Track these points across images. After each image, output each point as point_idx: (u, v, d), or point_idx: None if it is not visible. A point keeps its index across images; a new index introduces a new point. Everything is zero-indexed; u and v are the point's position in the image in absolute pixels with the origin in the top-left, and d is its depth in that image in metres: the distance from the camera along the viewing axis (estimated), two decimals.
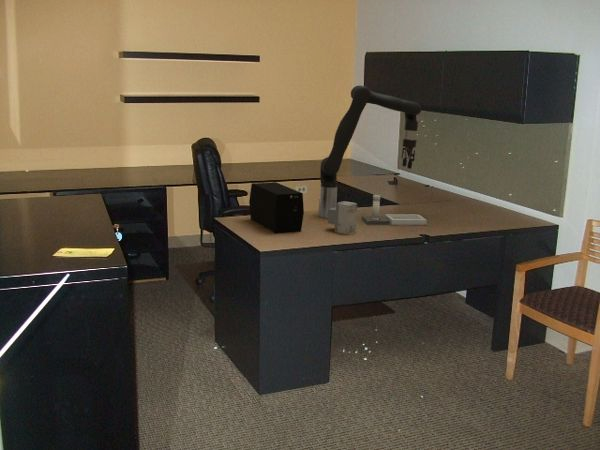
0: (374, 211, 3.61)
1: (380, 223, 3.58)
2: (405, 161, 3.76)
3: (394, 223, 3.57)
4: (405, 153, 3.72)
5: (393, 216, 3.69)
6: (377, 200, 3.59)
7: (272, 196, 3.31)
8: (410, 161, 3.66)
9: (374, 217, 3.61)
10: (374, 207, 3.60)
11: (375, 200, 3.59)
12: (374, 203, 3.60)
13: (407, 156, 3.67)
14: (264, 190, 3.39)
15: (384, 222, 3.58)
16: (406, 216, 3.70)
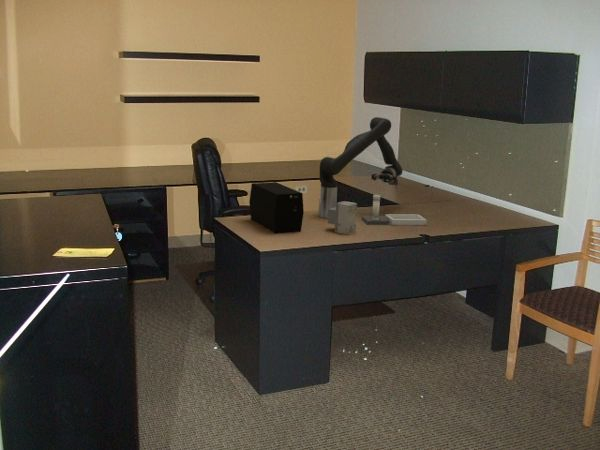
0: (374, 211, 3.61)
1: (380, 223, 3.58)
2: (376, 178, 3.72)
3: (394, 223, 3.57)
4: None
5: (393, 216, 3.69)
6: (377, 200, 3.59)
7: (271, 196, 3.31)
8: (393, 178, 3.70)
9: (374, 217, 3.61)
10: (374, 207, 3.60)
11: (375, 200, 3.59)
12: (374, 203, 3.60)
13: (391, 175, 3.73)
14: (264, 190, 3.39)
15: (384, 222, 3.58)
16: (406, 216, 3.70)
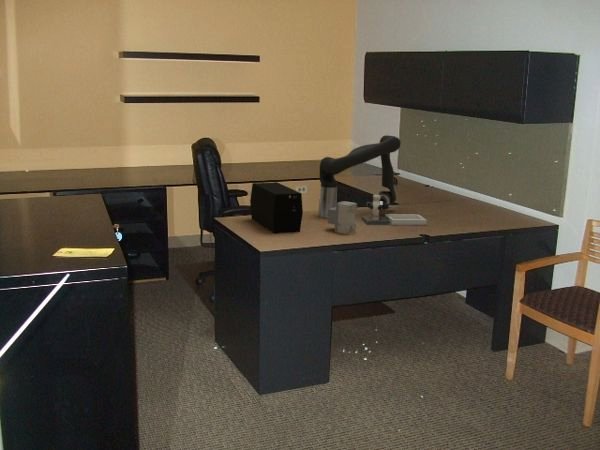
0: (374, 211, 3.61)
1: (380, 223, 3.58)
2: (372, 207, 3.62)
3: (394, 223, 3.57)
4: None
5: (393, 216, 3.69)
6: (377, 200, 3.59)
7: (270, 196, 3.31)
8: (382, 206, 3.62)
9: (374, 217, 3.61)
10: (374, 207, 3.60)
11: (375, 200, 3.59)
12: (374, 203, 3.60)
13: (382, 203, 3.64)
14: (264, 190, 3.39)
15: (384, 222, 3.58)
16: (406, 216, 3.70)
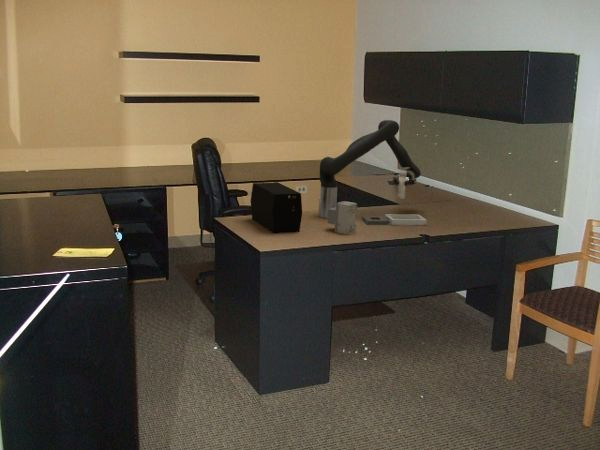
0: (400, 187, 3.59)
1: (380, 223, 3.58)
2: None
3: (394, 223, 3.57)
4: None
5: (393, 216, 3.69)
6: (403, 176, 3.57)
7: (270, 196, 3.31)
8: (409, 182, 3.60)
9: (400, 193, 3.60)
10: (400, 183, 3.59)
11: (401, 176, 3.58)
12: (400, 179, 3.58)
13: (408, 178, 3.63)
14: (263, 190, 3.39)
15: (384, 222, 3.58)
16: (406, 216, 3.70)
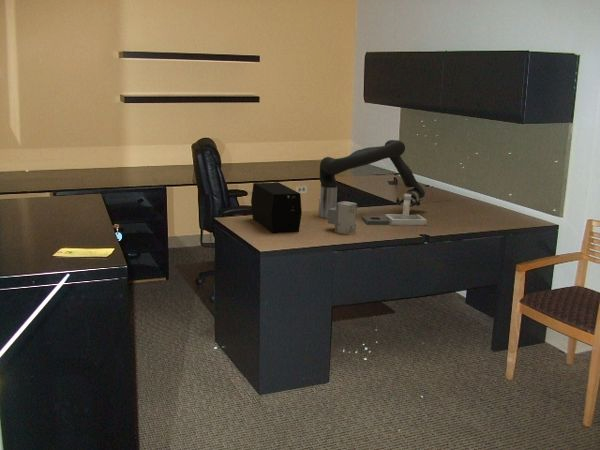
0: (405, 210, 3.62)
1: (380, 223, 3.58)
2: (401, 203, 3.64)
3: (394, 223, 3.57)
4: None
5: (393, 216, 3.69)
6: (408, 199, 3.60)
7: (269, 196, 3.31)
8: (416, 203, 3.63)
9: (405, 216, 3.63)
10: (405, 206, 3.62)
11: (406, 199, 3.60)
12: (405, 202, 3.61)
13: (414, 199, 3.65)
14: (263, 190, 3.39)
15: (384, 222, 3.58)
16: None
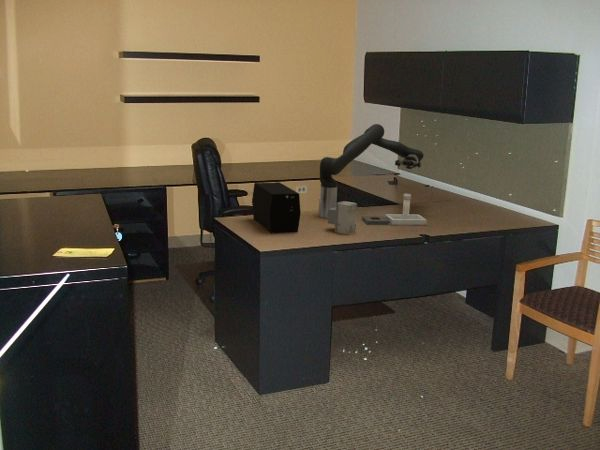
0: (405, 210, 3.62)
1: (380, 223, 3.58)
2: (399, 164, 3.74)
3: (394, 223, 3.57)
4: None
5: (393, 216, 3.69)
6: (408, 199, 3.61)
7: (268, 196, 3.31)
8: (417, 164, 3.73)
9: (404, 216, 3.63)
10: (405, 206, 3.62)
11: (406, 199, 3.61)
12: (405, 202, 3.62)
13: (414, 161, 3.75)
14: (263, 190, 3.40)
15: (384, 222, 3.58)
16: None
